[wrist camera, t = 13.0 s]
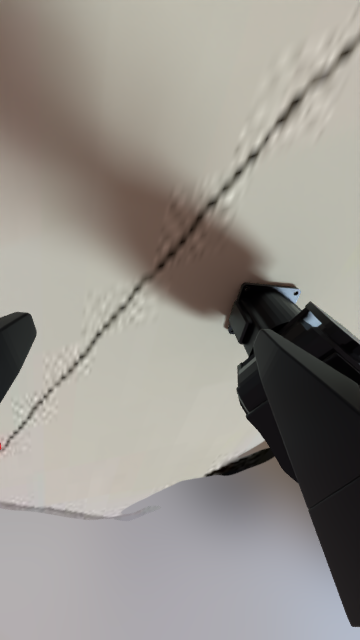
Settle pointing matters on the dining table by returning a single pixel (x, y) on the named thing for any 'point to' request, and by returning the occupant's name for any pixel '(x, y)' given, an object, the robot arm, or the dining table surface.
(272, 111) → the dining table surface
